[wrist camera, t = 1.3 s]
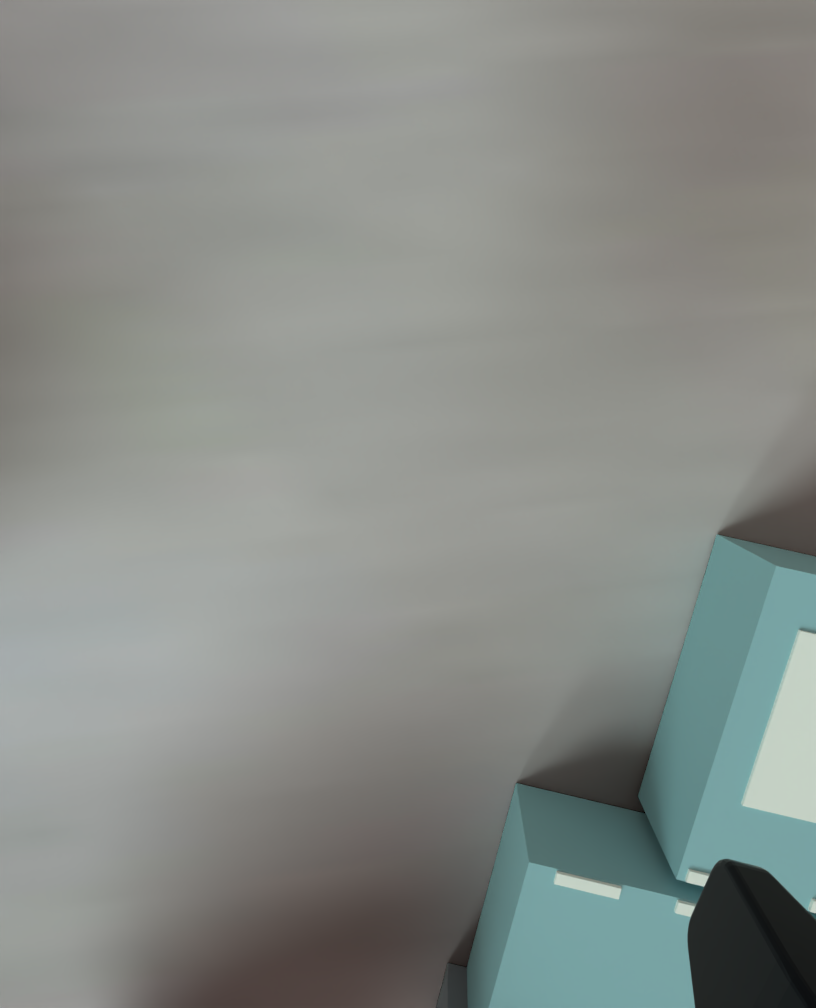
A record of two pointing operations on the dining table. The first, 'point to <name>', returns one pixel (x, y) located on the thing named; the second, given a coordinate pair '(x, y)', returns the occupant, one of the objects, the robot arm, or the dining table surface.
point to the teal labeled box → (742, 724)
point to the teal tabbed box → (577, 914)
